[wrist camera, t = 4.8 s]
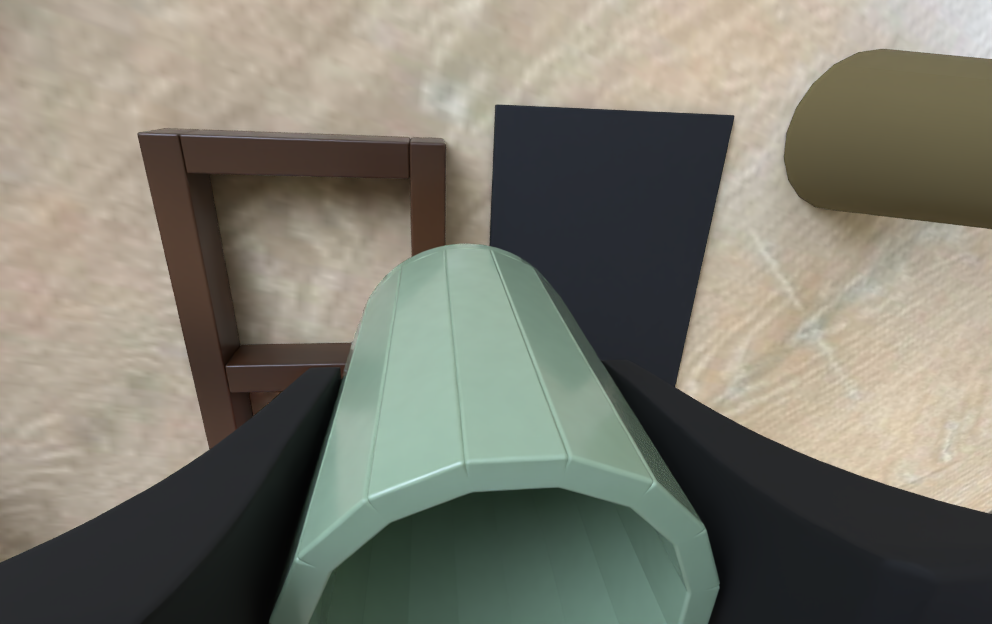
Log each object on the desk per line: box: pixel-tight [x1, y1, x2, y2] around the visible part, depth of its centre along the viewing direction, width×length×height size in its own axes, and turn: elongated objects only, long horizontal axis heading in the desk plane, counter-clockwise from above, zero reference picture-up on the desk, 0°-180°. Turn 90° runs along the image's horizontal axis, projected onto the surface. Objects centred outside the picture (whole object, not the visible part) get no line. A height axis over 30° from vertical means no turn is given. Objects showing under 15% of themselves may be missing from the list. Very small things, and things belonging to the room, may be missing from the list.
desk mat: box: [490, 105, 734, 387], centre depth 22 cm, size 20×9×1 cm, turn 177°
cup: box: [269, 244, 720, 624], centre depth 10 cm, size 6×6×8 cm
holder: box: [138, 128, 446, 449], centre depth 20 cm, size 18×9×2 cm, turn 177°
